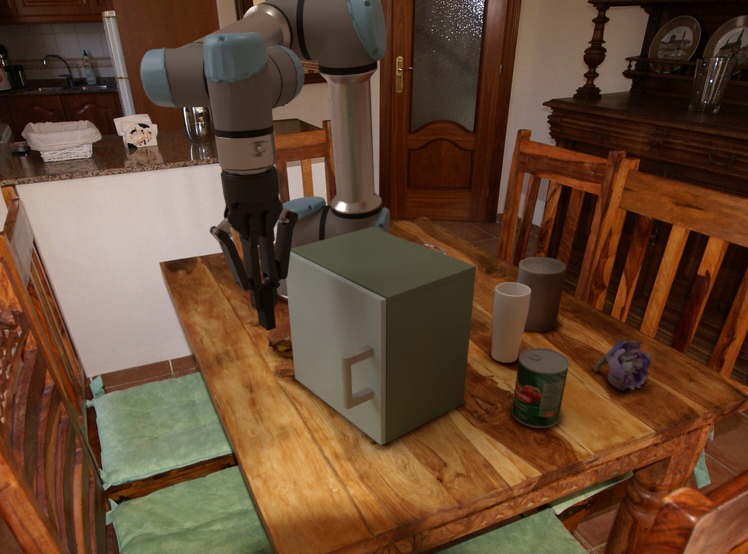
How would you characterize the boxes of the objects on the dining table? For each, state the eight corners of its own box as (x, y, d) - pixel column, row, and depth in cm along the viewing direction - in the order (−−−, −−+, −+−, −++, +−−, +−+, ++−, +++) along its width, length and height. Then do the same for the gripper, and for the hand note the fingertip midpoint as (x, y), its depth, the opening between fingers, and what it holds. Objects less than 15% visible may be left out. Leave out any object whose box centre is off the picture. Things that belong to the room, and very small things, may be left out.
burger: (310, 333, 126) (308, 314, 124) (319, 354, 119) (317, 334, 116) (265, 340, 124) (263, 321, 122) (271, 361, 117) (269, 341, 114)
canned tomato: (567, 414, 99) (579, 359, 93) (543, 434, 94) (553, 378, 89) (527, 395, 104) (535, 343, 98) (502, 414, 99) (509, 359, 94)
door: (355, 459, 90) (351, 311, 77) (271, 387, 108) (256, 258, 95) (385, 443, 93) (386, 298, 80) (299, 376, 111) (288, 249, 98)
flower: (578, 345, 106) (636, 336, 99) (594, 346, 112) (650, 338, 106) (585, 395, 105) (644, 389, 98) (601, 393, 111) (657, 388, 105)
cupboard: (386, 443, 93) (387, 297, 80) (300, 376, 111) (289, 248, 98) (463, 403, 102) (476, 266, 89) (372, 347, 120) (371, 226, 107)
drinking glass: (522, 367, 112) (533, 297, 105) (487, 364, 113) (494, 295, 106) (520, 350, 118) (530, 282, 110) (487, 347, 119) (494, 280, 112)
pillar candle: (566, 326, 126) (577, 262, 119) (531, 336, 123) (541, 270, 115) (535, 309, 134) (545, 247, 126) (502, 318, 131) (509, 255, 123)
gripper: (216, 181, 70) (241, 349, 82) (305, 164, 76) (316, 321, 88) (190, 170, 75) (217, 330, 87) (276, 155, 81) (290, 305, 94)
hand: (267, 325), depth 88 cm, fingers closed
